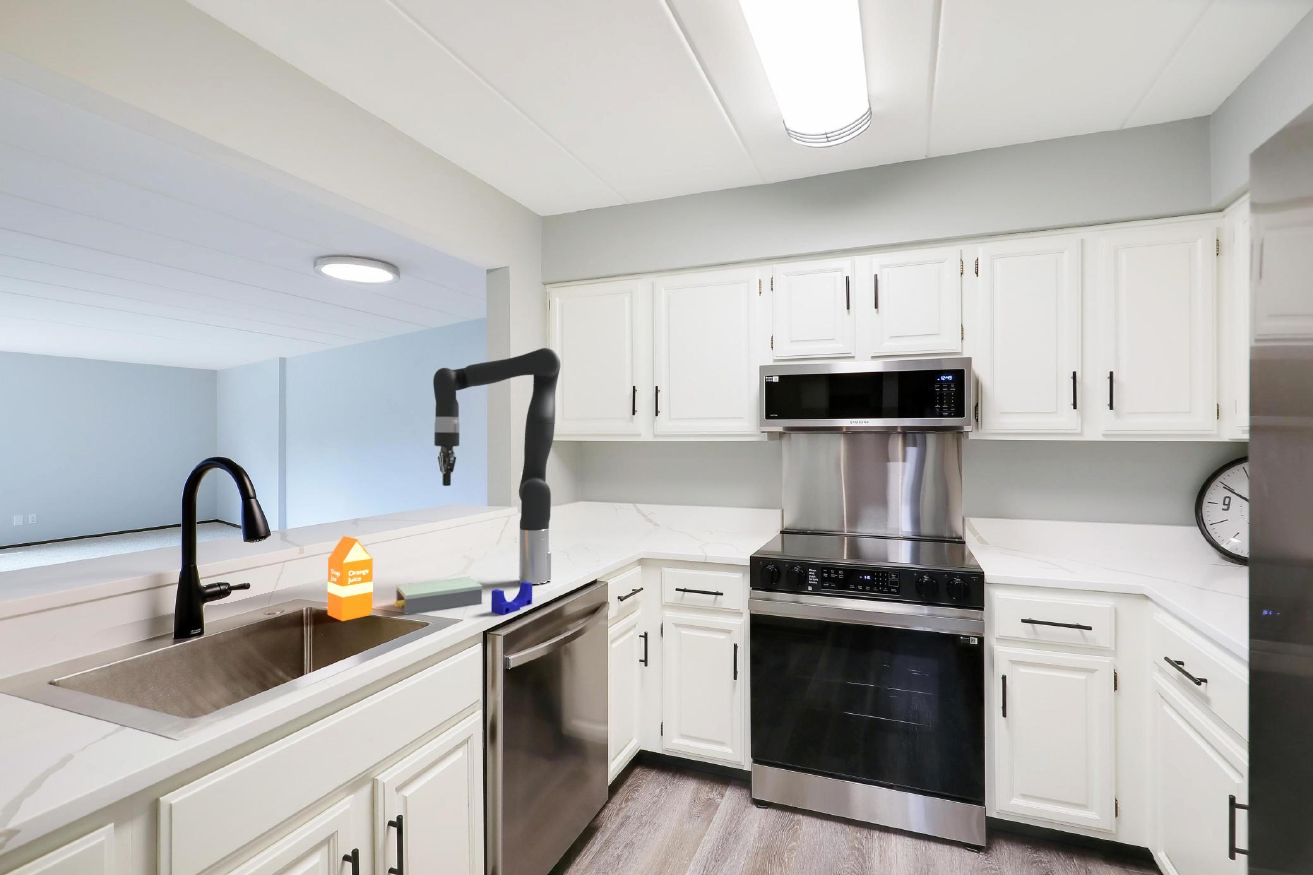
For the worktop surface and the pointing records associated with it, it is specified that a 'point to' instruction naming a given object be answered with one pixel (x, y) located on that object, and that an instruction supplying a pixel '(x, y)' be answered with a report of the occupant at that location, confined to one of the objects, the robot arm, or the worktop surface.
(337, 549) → the orange juice
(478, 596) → the cable duct
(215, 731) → the worktop surface
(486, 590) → the worktop surface
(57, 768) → the worktop surface
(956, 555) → the worktop surface
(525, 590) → the blue u-shaped block
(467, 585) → the pale green flat panel
